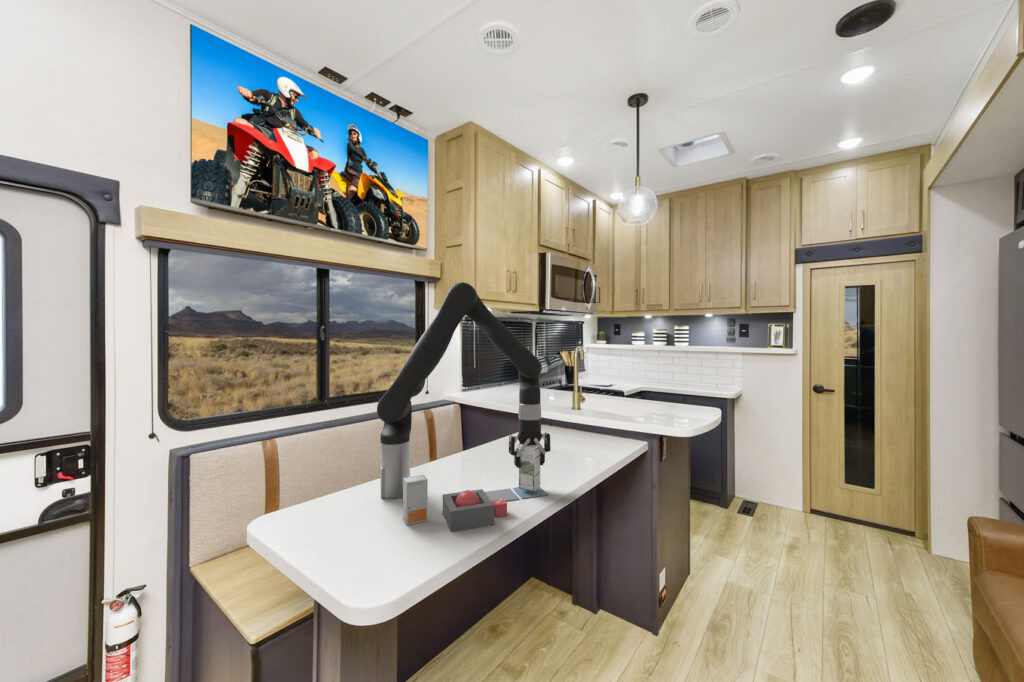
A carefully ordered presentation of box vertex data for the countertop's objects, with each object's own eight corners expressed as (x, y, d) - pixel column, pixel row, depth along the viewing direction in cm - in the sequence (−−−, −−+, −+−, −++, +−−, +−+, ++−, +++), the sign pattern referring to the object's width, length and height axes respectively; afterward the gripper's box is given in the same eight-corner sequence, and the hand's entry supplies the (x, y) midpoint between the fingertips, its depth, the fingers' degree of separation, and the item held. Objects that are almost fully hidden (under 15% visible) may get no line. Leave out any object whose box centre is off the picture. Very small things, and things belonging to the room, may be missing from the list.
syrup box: (540, 485, 135) (541, 442, 135) (534, 492, 130) (534, 447, 130) (525, 483, 138) (525, 440, 137) (518, 489, 132) (518, 445, 132)
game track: (458, 508, 121) (458, 507, 121) (452, 497, 130) (452, 496, 130) (548, 495, 131) (548, 494, 131) (537, 485, 140) (537, 484, 140)
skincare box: (406, 526, 110) (406, 482, 110) (402, 519, 114) (402, 477, 114) (428, 521, 113) (427, 478, 113) (424, 515, 117) (423, 474, 117)
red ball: (457, 523, 110) (457, 497, 110) (452, 512, 117) (452, 488, 117) (482, 519, 112) (482, 494, 112) (476, 508, 119) (476, 485, 119)
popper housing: (450, 532, 107) (450, 511, 107) (442, 513, 118) (442, 494, 118) (512, 521, 113) (512, 502, 113) (498, 504, 124) (498, 486, 124)
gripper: (513, 420, 128) (513, 472, 128) (554, 417, 132) (554, 467, 133) (505, 416, 135) (505, 464, 135) (544, 413, 139) (544, 460, 140)
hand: (529, 465), depth 134 cm, fingers closed on syrup box, 8 cm apart
